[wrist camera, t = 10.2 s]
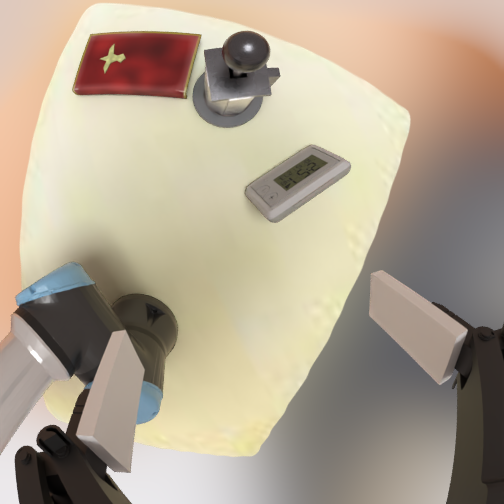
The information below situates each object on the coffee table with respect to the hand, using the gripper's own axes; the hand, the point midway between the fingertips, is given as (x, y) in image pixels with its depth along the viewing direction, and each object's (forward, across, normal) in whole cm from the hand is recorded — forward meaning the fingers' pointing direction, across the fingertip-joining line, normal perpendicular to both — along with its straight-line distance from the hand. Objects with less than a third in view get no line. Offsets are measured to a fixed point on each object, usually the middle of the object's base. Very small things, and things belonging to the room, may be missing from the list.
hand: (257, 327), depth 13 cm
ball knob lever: (+33, +5, +20) cm, 39 cm away
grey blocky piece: (+36, +6, +20) cm, 41 cm away
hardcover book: (+37, -10, +30) cm, 48 cm away
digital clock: (+37, +14, +3) cm, 39 cm away
